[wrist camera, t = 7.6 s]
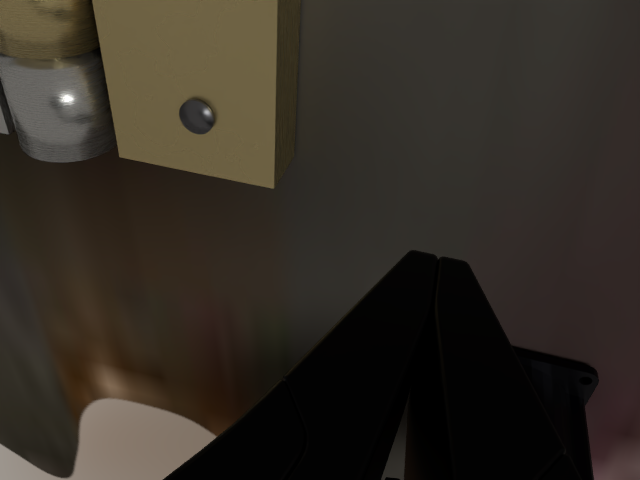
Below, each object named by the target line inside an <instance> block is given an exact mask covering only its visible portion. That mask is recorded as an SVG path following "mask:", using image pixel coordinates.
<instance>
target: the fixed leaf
mask: <svg viewBox="0 0 640 480" xmlns="http://www.w3.org/2000/svg"><path fill="white" fill-rule="evenodd" d="M15 130H16V132H17V136H18V139H19V143H20V146H21V149H22V150H23V152H24V153H25V154H27V155H28V156H30V157H32V158H35V159H38V160H41V161H47V162H75V161H81V160H86V159H90V158H93V157H96V156H99V155H102V154H104V153H106V152H108V151H109V150H111V149H112V148H114V147H115V146H116V145H117V140H116V134H115V128H114V123H113V117H112V111H111V105H110V100H109V94H108V88H107V83H106V77H105V71H104V65H103V60H102V54H101V48H100V47H98V48H97V49H95V50H92V51H90V52H87V53H84V54H80V55H76V56H71V57H64V58H55V59H26V58H18V57H13V56H9V55H5V54H3V53H0V133H4V134H11V133H12V132H14V131H15Z"/></svg>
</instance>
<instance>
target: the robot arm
mask: <svg viewBox="0 0 640 480" xmlns="http://www.w3.org/2000/svg"><path fill="white" fill-rule="evenodd" d="M583 377H587V378H583ZM598 382H599V379H598V373H597V371H596V370H595V369H594V368H593V367H590V366H586V365H582V364H578V363H574V362H569V361H565V360H561V359H557V358H553V357H548V356H544V355H540V354H536V353H531V352H527V351H523V350H519V349H514V348H512V346H511V344H510V342H509V340H508V338H507V336H506V334H505V332H504V330H503V329H502V327H501V325H500V323H499V321H498V319H497V317H496V315H495V313H494V311H493V309H492V308H491V306H490V304H489V302H488V300H487V298H486V296H485V294H484V292H483V290H482V289H481V287H480V285H479V283H478V281H477V279H476V277H475V275H474V273H473V271H472V270H471V268H470V266H469V264H468V263H467V262H465V261H462V260H458V259H453V258H448V257H440V258H439V259H438V258H437V256H436V255H434V254H430V253H425V252H420V251H416V250H411V251H409V252H408V253H407V254H406V255H405V256H404V257H403V258H402V259H401V260H400V261H399V262H398V263H397V264H396V265H395V266H394V267H393V268H392V269H391V270H390V271H389V272H388V273H387V274H386V275H385V276H384V277H383V278H382V279H381V280H380V281H379V282H378V283H377V284H376V285H375V286H374V287H373V288H372V289H371V290H370V291H369V292H368V293H367V294H366V295H365V296H364V297H363V298H362V299H361V300H360V301H359V302H358V303H357V304H356V305H355V306H354V307H353V308H352V309H350V310H349V311H348V312H347V313H346V314H345V315H344V316H343V317H342V318H341V319H340V320H339V321H338V322H337V323H336V324H335V325H334V326H333V327H332V328H331V329H330V330H329V331H328V332H327V333H326V334H325V335H324V336H323V337H322V338H321V339H320V340H319V341H318V342H317V343H316V344H315V345H314V346H313V347H312V348H311V349H310V350H309V351H308V352H307V353H306V354H305V355H304V356H303V357H302V358H301V359H300V360H299V361H298V362H297V363H296V364H295V365H294V366H293V367H292V368H291V369H290V370H289V371H288V372H287V373H286V374H285V375H284V376H283V380H279V381H278V382H277V383H276V384H275V385H274V386H273V387H272V388H271V389H270V390H269V391H268V392H267V393H266V394H265V395H264V396H263V397H262V398H261V399H260V400H259V401H257V402H256V403H255V404H254V405H253V406H252V407H251V408H250V409H249V410H248V411H247V412H246V413H244V414H243V415H242V416H241V417H240V418H239V419H238V420H237V421H236V422H235V423H234V424H232V425H231V426H230V427H229V428H228V429H226V430H225V431H224V432H223V433H221V434H220V435H219V436H218V437H217V438H215V439H214V440H213V441H212V442H210V443H209V444H208V445H207V446H205V447H204V448H203V449H202V450H201V451H199V452H198V453H197V454H195V455H194V456H193V457H192V458H190V459H189V460H188V461H186V462H185V463H184V464H182V465H181V466H180V467H179V468H177V469H176V470H175V471H173V472H172V473H171V474H169V475H168V476H167V477H166V478H164V479H163V480H381V478H382V475H383V472H384V469H385V466H386V463H387V460H388V457H389V454H390V451H391V448H392V445H393V442H394V439H395V436H396V433H397V430H398V427H399V424H400V421H401V418H402V415H403V412H404V409H405V405H406V402H407V399H408V395H409V391H410V395H409V404H408V417H407V434H406V452H405V469H404V480H594V477H593V469H592V461H591V453H590V445H589V437H588V429H587V421H586V413H585V405H586V403H587V402H588V400H589V398H590V397H591V395H592V393H593V392H594V390H595V388H596V386H597V385H598ZM410 387H411V389H410ZM385 480H400V479H398V478H389V477H386V478H385Z"/></svg>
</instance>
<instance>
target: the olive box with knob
mask: <svg viewBox="0 0 640 480" xmlns="http://www.w3.org/2000/svg"><path fill="white" fill-rule="evenodd" d="M300 5H301V0H0V53H3V54H5V55H9V56H13V57H18V58H26V59H55V58H64V57H71V56H76V55H80V54H84V53H87V52H90V51H92V50H95V49H97V48H98V47H100V48H101V54H102V60H103V65H104V71H105V77H106V83H107V88H108V94H109V100H110V105H111V111H112V117H113V123H114V128H115V134H116V140H117V146H118V151H119V157H121V158H126V159H131V160H136V161H141V162H145V163H150V164H155V165H160V166H165V167H170V168H175V169H180V170H184V171H189V172H194V173H199V174H204V175H209V176H214V177H219V178H223V179H228V180H233V181H238V182H243V183H248V184H253V185H258V186H262V187H267V188H272V189H274V188H275V186H276V185H277V183H278V182H279V180H280V178H281V177H282V175H283V174H284V172H285V170H286V169H287V167H288V166H289V164H290V162H291V161H292V159H293V157H294V145H295V121H296V98H297V75H298V52H299V28H300Z"/></svg>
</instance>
